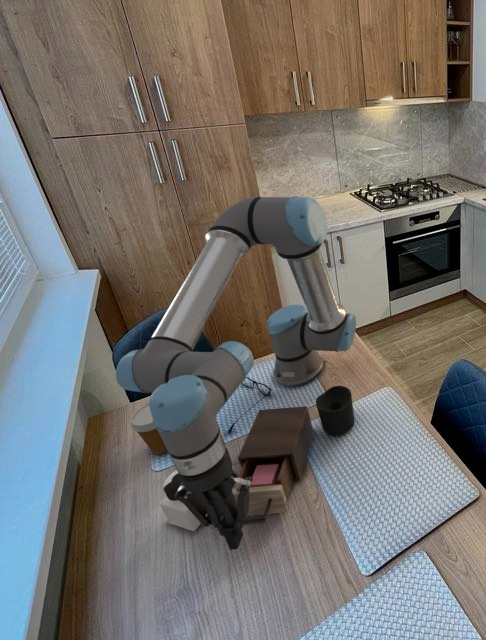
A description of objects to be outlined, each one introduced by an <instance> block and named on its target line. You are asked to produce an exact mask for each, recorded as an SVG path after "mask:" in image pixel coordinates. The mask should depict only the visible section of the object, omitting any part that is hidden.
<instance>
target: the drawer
mask: <svg viewBox="0 0 486 640" xmlns="http://www.w3.org/2000/svg"><path fill="white" fill-rule="evenodd" d="M271 464H279V467H280V473H279V476H278V479H277V481H278V484H279V485H272V486H260V487H250V488H249V510H248V513H247V516H246V519H245V521H244V523H243V526H245V525H255V524H265V523H267V522H268V520H269V515H270V514H279V513H281V514H283V513H288V511H289V507H290V505H289V503H288V499H289V497H290V492H291V489H292V485H293V482H294V481H293V479H294V475H295V472H294V468H293V465H292V461H291V458H290V456H284V457H272V458H260V459H249V460H245V461H244V463H243V466H242V468H241V467H240V470H239V473H238V474H237V475H238V478H241V479H246V477H248V476H251V477H252V476H253V474H254V472H255V469H256V467H257V465H271ZM232 492H233V495H234V497H235V500H236V502H237V498H238V494H237V493H236V492H237V490H236V488H232Z"/></svg>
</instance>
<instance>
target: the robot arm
mask: <svg viewBox="0 0 486 640" xmlns="http://www.w3.org/2000/svg"><path fill="white" fill-rule="evenodd" d="M327 222H328V220H327V217H326V214H325V211H324V209H323V207H322V205H321V204H320V203H319V202H318V201H317V200H316V199H314V198H311V197H304V196H298V195H293V196H251V197H247V198H245V199H242V200H240V201H237V202H236V203H234V204H233V205H231V206H230V207H228V208H227V209H226V210H225V211H224V212H222V213H221V214H220V215H219V216H218V217H217V219H215V220H214V222H213V223H212V225H211V226H210V228H209V229H208V231H207V232H206V234H205V236H204V240H205V245H204V247H203V249H202V250H201V252H200V254H199V256H198V257H197V259H196V260H195V262H194V264H193V266H191V269H190V271H189V272H188V275H187V276H186V277H185V279H184V281H183V283H182V284H181V286H180V288H179V289H178V290H177V293H176V295H174V296H175V297H174V298H173V300H172V302H171V303H170V305H169V306H168V308H167V310H166V312H165V313H164V314H163V317H162V319H160V322H159V323H158V325H157V327H156V329H155V330H154V331H153V334H152V335H151V337H150V338H149V340H148V342H147V343H146V345H145V347H144V348H140V349H133V350H131V351H129V352H127V354H125V355H124V356H122V357H121V359H120V360H119V361H118V364H117V365H116V370H115V380H116V382H117V384H118V386H119V387H120V388H122V390H125V391H130V392H136V393H137V392H138V393H143V394H150V393H151V395H150V397H149V400H148V403H149V408H150V412H151V415H152V418H153V423H154V426H156V428H157V430H158V432H159V434H160V436H161V438H162V440H163V442H164V444H165V446H166V448H167V450H168V452H167V453H168V454H169V457H170V459H171V461H172V463H173V465H174V468H175V469H176V470H177V471H178V475H179V477H180V479H181V481H182V483H181V485H180V487H179V488H178V490H177V492H176V494H175V496H174V498H175V499H177V500H179V501H180V502H182V503H183V504H184V505H185V506H186V507H187V508H188V509H189V510H190V511H191V513H192V514H193V515H194V516H195V517H196V518H197V519H198V520H199V522H200V523H201V524H200V525H202V526H203V527H205V528H209V527H210V526H213V527H214V528H215V529H217V532H218V533H219V536H221V537H224V539H225V542H226V545H227V546H228V549H229V550H230V551H232V550H238V549H239V547H240V545H241V542H242V540H243V537H244V533H243V528H244V525H243V523H244V521H245V519H246V517H247V513H248V510H249V488H250V485H251V483H252V480H253V477H251V476H248V477H246V479H241V478H238V475H239V474H238V473H237V472H236V471H235V470H234V469H233V461H232V459H231V455H230V452H229V450H228V448H227V444H226V441H225V438H224V436H223V433H222V431H221V428H220V425H219V423H218V420H217V415H218V414H219V412H220V411H221V410H222V409H223V407H224V406H225V405H226V403H227V402H228V400H229V399H230V398H231V397H232V396H233V395H234V393H235V392H236V391H237V390H238V388H239V387H240V386H241V385H242V384H241V383H243V382H244V381H245V380H246V379H247V378H246V377H248V374H249V373H250V372H251V370H252V368H253V367H254V363H255V359H254V355H253V353H252V351H251V350H250V348H249V347H248V346H246V345H245V344H243V343H241V342H238V341H235V340H229V341H225V342H223V343H221V344H220V345H219V346H218V347H215V348H214V350H213V351H210V352H209V351H194V349H195V346H196V345H197V344H198V341H199V339H200V337H201V336H202V333H203V331H204V329H205V327H206V326H207V324H208V321H209V319H210V318H211V316H212V313H213V312H214V310H215V308H216V306H217V304H218V302H219V300H220V298H221V296H222V294H223V292H224V291H225V288H226V286H227V284H228V283H229V281H230V278H231V277H232V275H233V273H234V271H235V268H236V267H237V265H238V263H239V261H240V259H241V258H243V257H246V256H247V255H248V254H249V251H250V250H251V248H252V247H254V246H257V245H272V246H274V249H275V251H276V254H277V256H279V257H280V258H281V259H284V260H286V261H287V263H288V266H289V269H290V271H291V274H292V275H293V278H294V281H295V284H296V285H297V289H298V290H299V293H300V296H301V298H302V300H303V303H304V305H305V306H304V305H301V304H290V305H286V306H284V307H281V308H279V309H276V311H274V312H273V313H272V314H271V315H270V316H269V317H268V319H267V323H266V324H267V329H268V330H267V331H268V335H269V338H270V341H271V345H272V348H273V353H274V355H275V361H274V366H273V367H274V369H273V376H274V381H275V382H276V383H277V384H278V385H279V386H282V387H287V388H297V387H301V386H304V385H307V384H308V383H311V382H313V381H314V380H315V379H316V378H318V376H320V374H321V373H322V371H323V370H324V369H323V368H324V363H323V359H322V357H321V355H320V354H319V352H321V351H322V352H336V353H338V352H347V351H348V350H350V349H351V347H352V346H353V343H354V340H355V336H356V328H357V318H356V317H357V316H356V315H355V314H354V313H351V312H349V313H347V312H346V308H345V307H344V305H343V304H342V303H339V302H338V300H337V297H336V294H335V291H334V288H333V285H332V282H331V279H330V276H329V272H328V270H327V266H326V264H325V261H324V258H323V255H322V252H321V248H322V246H323V244H324V242H325V240H326V238H327V234H328V226H327ZM318 351H319V352H318ZM176 470H175V471H176ZM234 487H235V489H236V490H237V492H236V493H237V494H238V498H237V502H236V500H235V497H234V495H233V492H232V489H234ZM206 514H207V517H206Z"/></svg>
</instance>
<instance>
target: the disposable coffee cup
mask: <svg viewBox="0 0 486 640" xmlns="http://www.w3.org/2000/svg"><path fill="white" fill-rule="evenodd" d="M129 425H130V428H131V430H133V431H135V432H136V433H137V434H138V435H139V437H140V438H141V440H142V441H143V442H144V443H145V444H146V445H147V447H148V448H149V450H150V451H151V452H152V453H153V454H154V455H164V454H166V453H169V452H168V450H167V448H166V446H165V444H164V442H163V440H162V438H161V436H160V434H159V432H158V430H157V428H156V426H154V423H153V418H152V415H151V412H150V408H149V402H148V403H145V404H143V405H142V406H140V407H139V408H138V409H136V410H135V411H134V413H132V415H131V418H130V423H129Z"/></svg>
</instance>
